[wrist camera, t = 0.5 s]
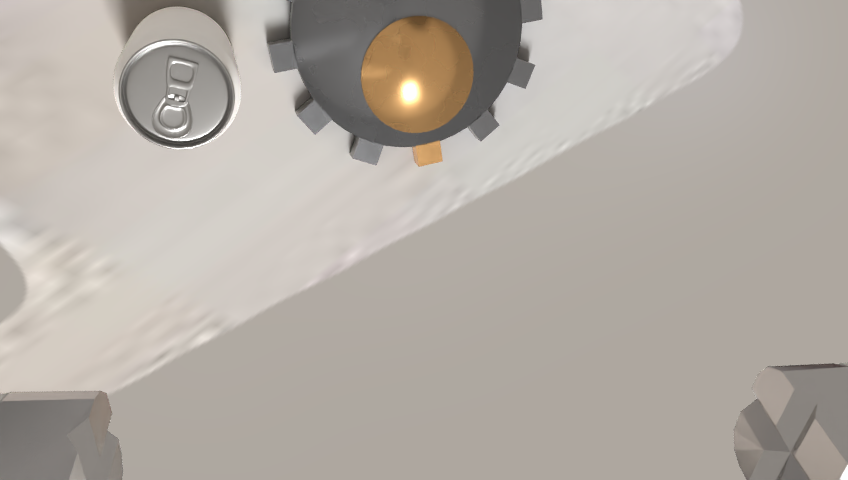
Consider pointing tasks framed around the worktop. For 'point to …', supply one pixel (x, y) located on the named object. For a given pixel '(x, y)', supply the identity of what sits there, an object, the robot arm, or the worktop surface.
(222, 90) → the can
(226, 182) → the worktop surface
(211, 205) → the worktop surface
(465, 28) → the sprocket plate
